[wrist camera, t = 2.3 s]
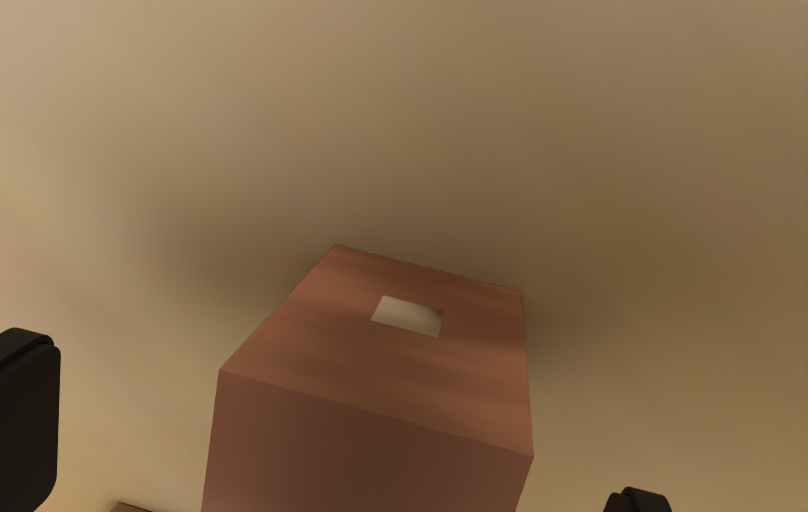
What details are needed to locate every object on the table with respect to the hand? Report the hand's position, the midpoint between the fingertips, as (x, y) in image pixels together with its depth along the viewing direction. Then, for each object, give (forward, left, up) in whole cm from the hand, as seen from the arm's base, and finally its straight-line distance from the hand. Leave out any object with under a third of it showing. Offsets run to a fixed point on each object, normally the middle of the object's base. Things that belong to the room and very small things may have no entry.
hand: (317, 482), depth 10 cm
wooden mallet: (-1, +3, -7) cm, 8 cm away
